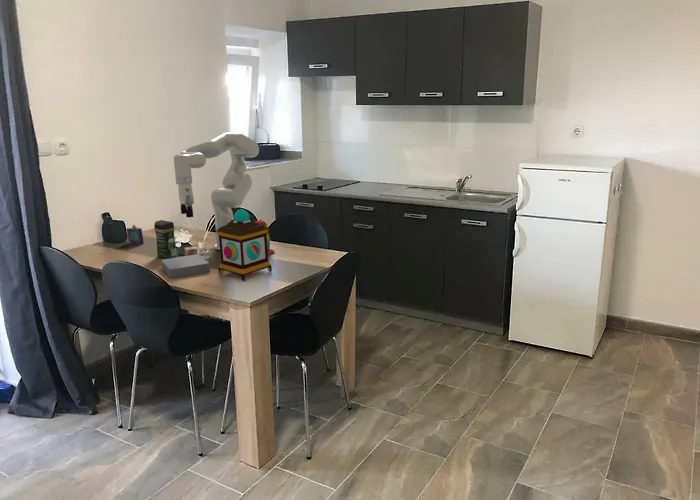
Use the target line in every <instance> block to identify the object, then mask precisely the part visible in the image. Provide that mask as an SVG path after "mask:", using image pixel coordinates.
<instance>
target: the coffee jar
mask: <svg viewBox="0 0 700 500" xmlns="http://www.w3.org/2000/svg"><path fill="white" fill-rule="evenodd" d="M153 228H154V231H155V237H156V251H157V253H156V254H157V257H160V258H162V259H170V258H176V257H177V256H178V252H177V246H176V238H175V224H174V222H173V221H168V220H164V219H160V220H157V221H155V222H154V227H153Z"/></svg>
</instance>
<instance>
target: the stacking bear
mask: <svg viewBox="0 0 700 500" xmlns="http://www.w3.org/2000/svg"><path fill="white" fill-rule="evenodd" d="M255 222H256V223H258V224H262V225H264V226H266V227H267V228H268V229H269V225H268V223H267V222H266V221H265V220H263V219H259V220H256V221H255ZM267 250H268V258H269V257H270V255H273V254H275V252H276V251H275V250H274V249H272V248H271V238H270V235H269V231H268V232H267Z"/></svg>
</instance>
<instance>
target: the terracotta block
mask: <svg viewBox="0 0 700 500" xmlns="http://www.w3.org/2000/svg"><path fill="white" fill-rule="evenodd" d="M196 254H198V248H197V247H196V246H189V247H188V246H187V247H184V256H189V255H196Z"/></svg>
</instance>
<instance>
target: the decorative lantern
mask: <svg viewBox="0 0 700 500" xmlns="http://www.w3.org/2000/svg"><path fill="white" fill-rule="evenodd" d="M216 232H217V234H218V236H219V243H220V250H219V251H220V253H219V255H220V264H219V266H218V274H219V275H220V276H223V274H224V272H228V273H232V274H235V275H239V276H240V278H241V280H242V282H245V281H246V276H247V275H250V274H253V273H257V272H259V271H262V270H265V269H267V272H268V273H271V272H272V271H273V268H272V267H273V266H272V264H271V262H270V261H269V257H268V250H267V232H268V233H269V227H268V228H267V227H266V226H264V225H262V224H258V223H256V221H255V220H253V219H252V218H250V215H249V213H248V211H246V210H245V209H242V208H241V209H238V210H236V212H235V213H234V214H233V220H231V222H229V223H228V224H226V225H225V226H221V227H220V228H219V229H218V230H216V229H215V233H216Z"/></svg>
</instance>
